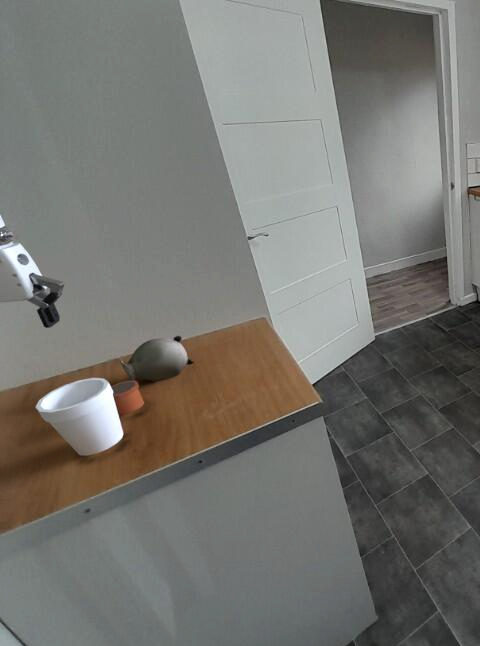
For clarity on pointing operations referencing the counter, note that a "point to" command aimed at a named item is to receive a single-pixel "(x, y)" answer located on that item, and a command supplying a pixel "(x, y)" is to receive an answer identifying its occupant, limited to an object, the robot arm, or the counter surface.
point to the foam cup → (83, 415)
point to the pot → (127, 396)
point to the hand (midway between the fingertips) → (19, 327)
